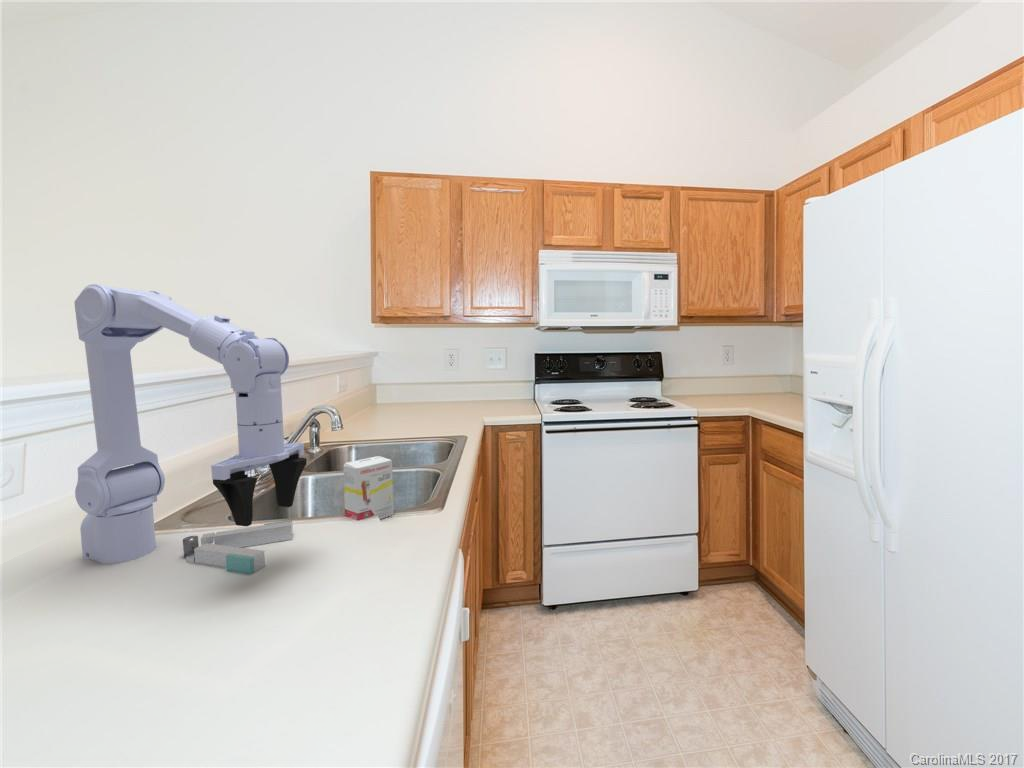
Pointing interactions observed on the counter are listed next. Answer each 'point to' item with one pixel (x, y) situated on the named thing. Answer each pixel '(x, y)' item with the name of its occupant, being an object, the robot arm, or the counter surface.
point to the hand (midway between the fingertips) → (265, 515)
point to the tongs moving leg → (251, 535)
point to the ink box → (368, 488)
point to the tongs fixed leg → (223, 556)
